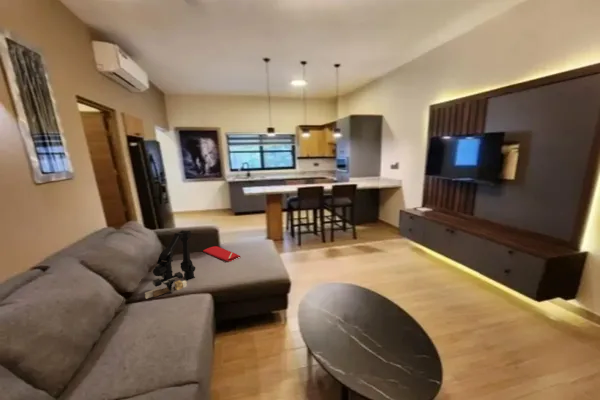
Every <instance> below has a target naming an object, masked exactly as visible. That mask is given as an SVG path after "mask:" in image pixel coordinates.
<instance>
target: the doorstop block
mask: <svg viewBox="0 0 600 400" xmlns="http://www.w3.org/2000/svg"><path fill="white" fill-rule="evenodd" d="M173 285H174V290H176V291H178V290H181V289H184V287H182V280H181V279H180V280H175V281H174V283H173Z"/></svg>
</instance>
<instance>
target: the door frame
mask: <svg viewBox="0 0 600 400" xmlns="http://www.w3.org/2000/svg"><path fill="white" fill-rule="evenodd" d="M187 281H188V280H186V279H185V280H181V282H182V287H183V288H186V287H187V286H188V284H187V283H188V282H187ZM160 289H162V288H161V287H158V288H154V289H151V290H148V291H146V292H144V298H145V299H147V300H148V299H150V298H154V297H153V292H155V291H158V290H160Z"/></svg>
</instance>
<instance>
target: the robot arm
mask: <svg viewBox="0 0 600 400" xmlns="http://www.w3.org/2000/svg"><path fill="white" fill-rule="evenodd" d="M192 235H193V234H192V231H190V230H185V229H184V230H183V229H181V230H180V231H178V232H175V233H174V234H173V237H172V239H171V240H170V243H168V246H167V247H166V248H165V249H163V250H162V251H161V252H160V254H159V257H158V259H157V262H156V265H155V266H154V268H153V270H152V274H153V276H155V277H161V278H162V279H160V278H156V279H153V280H152V284H153V286H155V287H159V286H162V284H163V285H165V286H166V287H167V288H168V289H169V290H170V289H171V287H172V288H173V285H174V282H176V280H175V279H176V278H177V279H180V280H181V279H182V278H184V279H185V281H191V280H192V279H195V278H196V276H195V273H194V272H195V271H196V266H194V265H193V261H192V260H191V253H190V251H191V250H190V240H191V239H192ZM180 241H181V242H182V244H181V245H182V261H181V262H180V270H181V271H182V272H183V273H182V272H181V271H177V272H175V273H174V272H173V268H172V262H173V261H174V260H173V256H174V251H175V249H176V247H178V244H179V242H180ZM173 273H174V274H173Z"/></svg>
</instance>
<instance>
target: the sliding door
mask: <svg viewBox="0 0 600 400" xmlns="http://www.w3.org/2000/svg"><path fill="white" fill-rule="evenodd" d="M169 292H170V293H174V287H173V286H172V287H171V289H170V290H169V289H168V288H167V286H166V287H164V288H161V289H160V290H158V291H155V292H153V297H152V298H155V297H156V298H157V297H159V296H162V295H164V294H168V293H169Z"/></svg>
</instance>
